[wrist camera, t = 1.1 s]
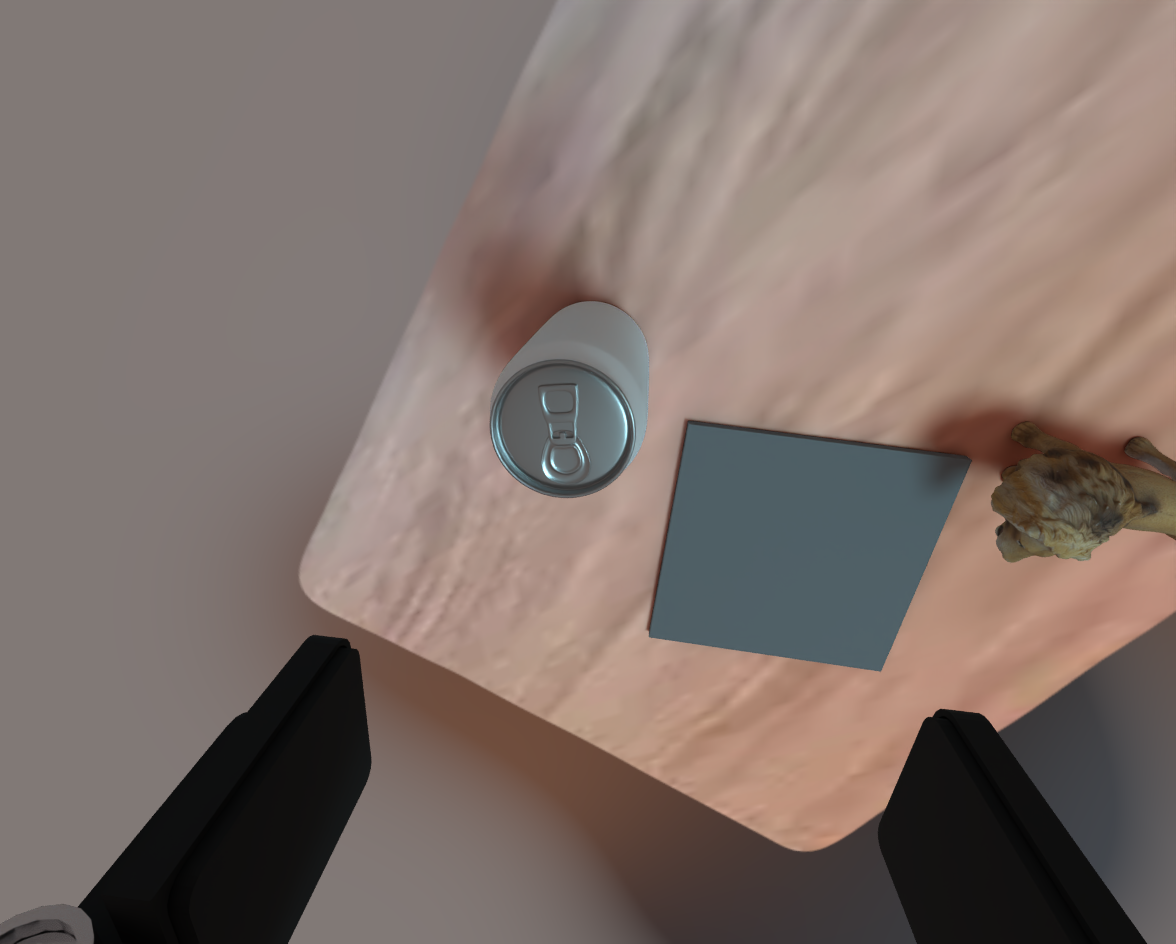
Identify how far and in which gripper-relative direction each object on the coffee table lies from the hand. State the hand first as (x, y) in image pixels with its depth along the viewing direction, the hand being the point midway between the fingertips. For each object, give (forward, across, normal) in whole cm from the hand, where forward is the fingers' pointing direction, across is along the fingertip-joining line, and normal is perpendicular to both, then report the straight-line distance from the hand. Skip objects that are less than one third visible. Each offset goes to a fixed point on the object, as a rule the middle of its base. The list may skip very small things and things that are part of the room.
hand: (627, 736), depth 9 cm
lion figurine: (+25, -25, +3) cm, 35 cm away
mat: (+25, -11, +11) cm, 29 cm away
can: (+25, +2, -1) cm, 25 cm away
